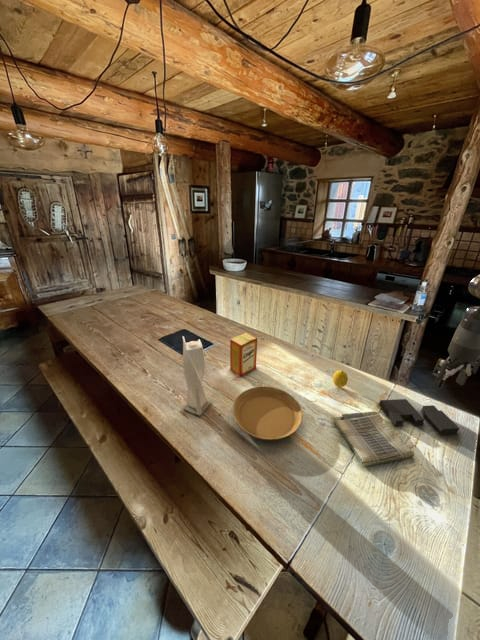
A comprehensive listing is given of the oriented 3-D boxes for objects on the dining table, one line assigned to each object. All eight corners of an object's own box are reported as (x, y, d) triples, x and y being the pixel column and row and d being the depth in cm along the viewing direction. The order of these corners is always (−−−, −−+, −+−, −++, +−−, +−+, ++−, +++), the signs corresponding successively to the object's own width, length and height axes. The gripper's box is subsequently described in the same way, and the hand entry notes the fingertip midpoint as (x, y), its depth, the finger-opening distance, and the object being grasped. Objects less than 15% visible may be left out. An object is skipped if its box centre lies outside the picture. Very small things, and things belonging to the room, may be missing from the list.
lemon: (346, 385, 109) (350, 369, 106) (344, 393, 105) (347, 376, 102) (333, 380, 112) (336, 365, 108) (329, 388, 108) (333, 372, 104)
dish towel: (415, 458, 80) (418, 451, 78) (362, 469, 76) (364, 461, 75) (375, 412, 96) (377, 406, 95) (330, 419, 93) (331, 413, 91)
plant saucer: (300, 453, 81) (301, 445, 79) (224, 437, 86) (224, 429, 84) (302, 398, 102) (303, 392, 100) (241, 388, 107) (241, 381, 105)
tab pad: (433, 410, 97) (436, 405, 96) (456, 433, 88) (459, 428, 87) (418, 411, 97) (420, 405, 96) (439, 434, 88) (442, 429, 87)
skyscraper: (180, 408, 97) (173, 342, 84) (193, 394, 103) (188, 331, 91) (200, 416, 93) (195, 348, 81) (212, 401, 100) (209, 336, 88)
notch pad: (404, 404, 100) (406, 398, 99) (422, 425, 91) (424, 419, 90) (378, 405, 99) (380, 400, 98) (394, 426, 90) (396, 421, 89)
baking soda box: (240, 376, 113) (240, 344, 106) (230, 369, 118) (230, 338, 111) (255, 368, 119) (257, 337, 112) (246, 361, 123) (246, 331, 116)
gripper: (460, 351, 74) (440, 396, 81) (500, 345, 76) (478, 390, 84) (437, 337, 80) (420, 380, 87) (475, 333, 83) (455, 375, 90)
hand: (448, 385), depth 85 cm, fingers open, 8 cm apart
